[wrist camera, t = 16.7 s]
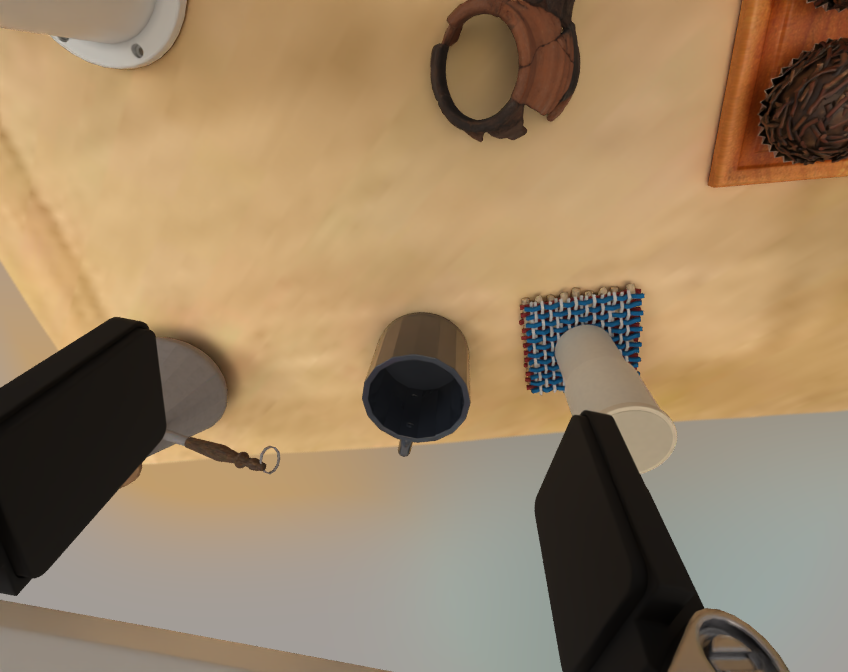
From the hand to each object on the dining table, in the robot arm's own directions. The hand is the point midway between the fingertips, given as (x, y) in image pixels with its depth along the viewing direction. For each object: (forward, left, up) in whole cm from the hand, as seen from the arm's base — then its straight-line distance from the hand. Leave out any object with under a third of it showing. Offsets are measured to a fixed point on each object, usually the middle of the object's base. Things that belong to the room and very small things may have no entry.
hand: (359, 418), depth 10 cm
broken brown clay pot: (+4, +10, -31) cm, 32 cm away
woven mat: (+16, -11, -31) cm, 36 cm away
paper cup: (+16, -11, -28) cm, 34 cm away
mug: (+2, -18, -30) cm, 35 cm away
